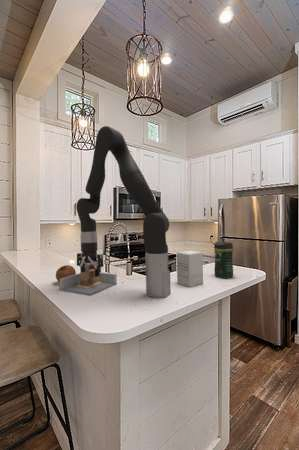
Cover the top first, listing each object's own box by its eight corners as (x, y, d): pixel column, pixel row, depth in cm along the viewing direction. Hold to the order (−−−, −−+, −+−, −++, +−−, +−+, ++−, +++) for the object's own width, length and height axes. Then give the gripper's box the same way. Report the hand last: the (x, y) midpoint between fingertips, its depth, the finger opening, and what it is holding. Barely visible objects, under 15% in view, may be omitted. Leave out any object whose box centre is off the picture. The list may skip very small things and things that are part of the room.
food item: (83, 274, 133) (82, 257, 133) (97, 272, 137) (96, 256, 137) (88, 279, 121) (88, 261, 121) (103, 277, 125) (103, 259, 125)
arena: (116, 284, 111) (116, 274, 111) (90, 295, 95) (90, 283, 95) (88, 280, 120) (87, 270, 120) (59, 290, 104) (59, 278, 104)
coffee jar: (236, 277, 120) (235, 241, 119) (223, 279, 117) (222, 242, 117) (224, 273, 129) (223, 240, 129) (211, 275, 126) (211, 241, 126)
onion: (64, 291, 112) (60, 274, 107) (54, 283, 118) (49, 267, 113) (81, 280, 119) (77, 264, 114) (70, 273, 124) (66, 257, 119)
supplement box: (190, 280, 117) (190, 250, 117) (203, 284, 110) (203, 252, 109) (176, 283, 112) (176, 251, 112) (189, 287, 105) (188, 254, 104)
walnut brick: (87, 286, 105) (86, 273, 105) (80, 285, 107) (80, 272, 107) (98, 282, 112) (98, 269, 112) (92, 281, 114) (91, 269, 114)
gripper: (71, 241, 109) (73, 276, 109) (95, 242, 102) (96, 279, 103) (83, 240, 116) (84, 272, 116) (106, 240, 109) (107, 275, 109)
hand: (90, 275), depth 109 cm, fingers open, 8 cm apart
